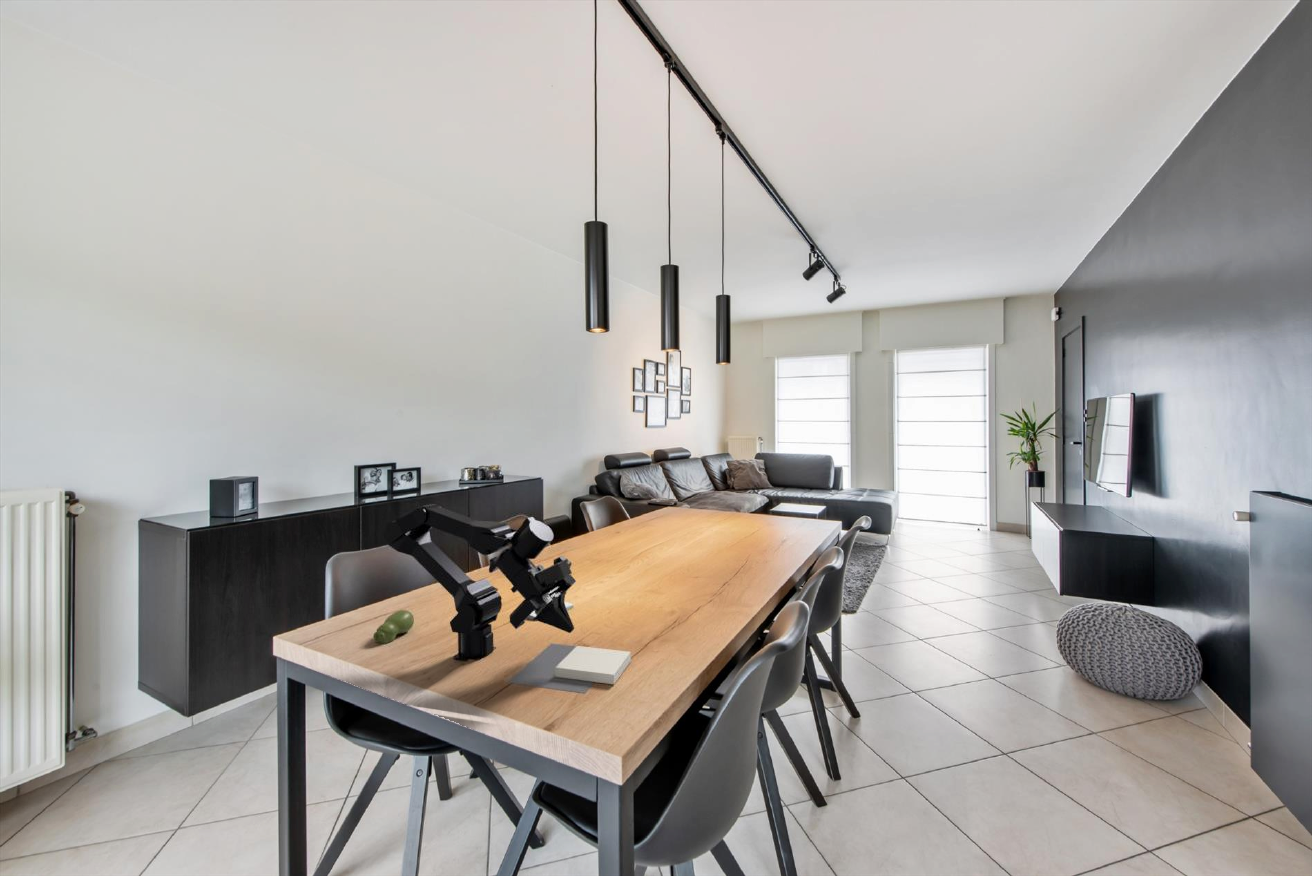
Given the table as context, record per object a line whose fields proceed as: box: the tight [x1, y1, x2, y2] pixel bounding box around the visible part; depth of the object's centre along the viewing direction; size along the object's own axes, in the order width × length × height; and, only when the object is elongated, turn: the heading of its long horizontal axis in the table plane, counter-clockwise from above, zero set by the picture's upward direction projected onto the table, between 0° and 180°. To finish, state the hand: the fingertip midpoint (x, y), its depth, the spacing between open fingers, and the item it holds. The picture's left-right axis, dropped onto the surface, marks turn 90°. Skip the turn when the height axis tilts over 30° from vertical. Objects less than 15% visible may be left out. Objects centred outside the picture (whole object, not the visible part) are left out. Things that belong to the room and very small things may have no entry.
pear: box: [372, 609, 415, 644], centre depth 118 cm, size 6×5×10 cm
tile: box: [555, 645, 632, 685], centre depth 99 cm, size 2×10×12 cm
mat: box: [506, 643, 595, 694], centre depth 100 cm, size 16×18×1 cm
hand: (572, 630), depth 100 cm, fingers closed
